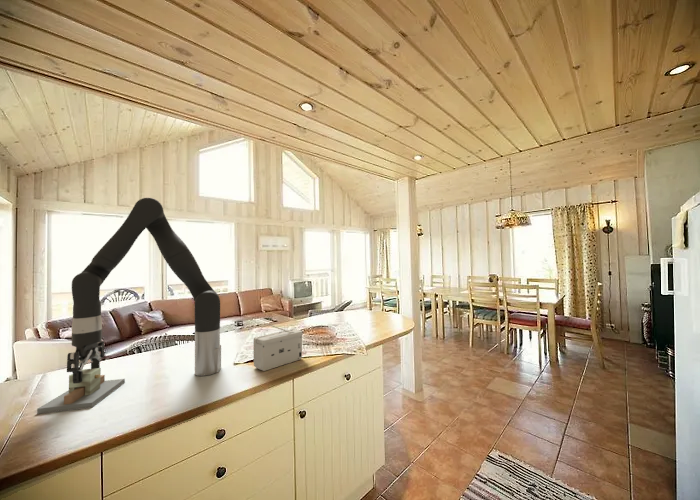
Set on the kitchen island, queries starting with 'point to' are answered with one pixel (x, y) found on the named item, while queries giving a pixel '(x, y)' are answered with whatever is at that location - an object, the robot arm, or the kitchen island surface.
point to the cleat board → (81, 397)
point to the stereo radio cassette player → (277, 348)
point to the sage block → (87, 381)
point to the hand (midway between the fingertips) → (86, 377)
